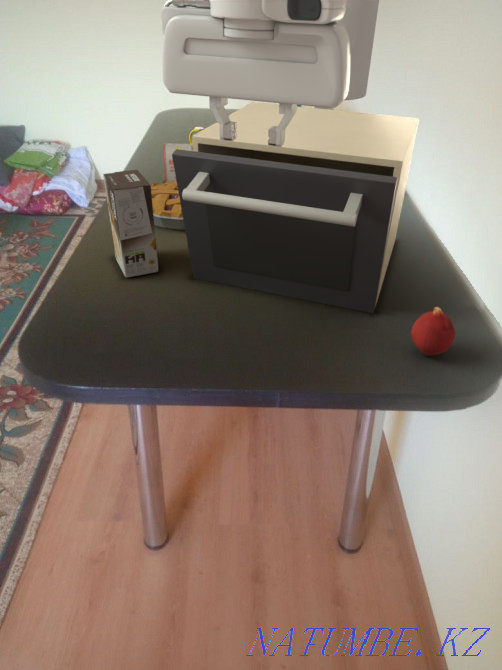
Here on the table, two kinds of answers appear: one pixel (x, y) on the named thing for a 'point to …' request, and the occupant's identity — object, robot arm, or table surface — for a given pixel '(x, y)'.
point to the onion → (433, 332)
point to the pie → (167, 205)
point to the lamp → (359, 43)
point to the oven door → (285, 227)
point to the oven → (324, 146)
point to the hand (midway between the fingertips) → (251, 142)
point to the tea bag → (169, 160)
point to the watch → (193, 131)
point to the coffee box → (132, 222)
